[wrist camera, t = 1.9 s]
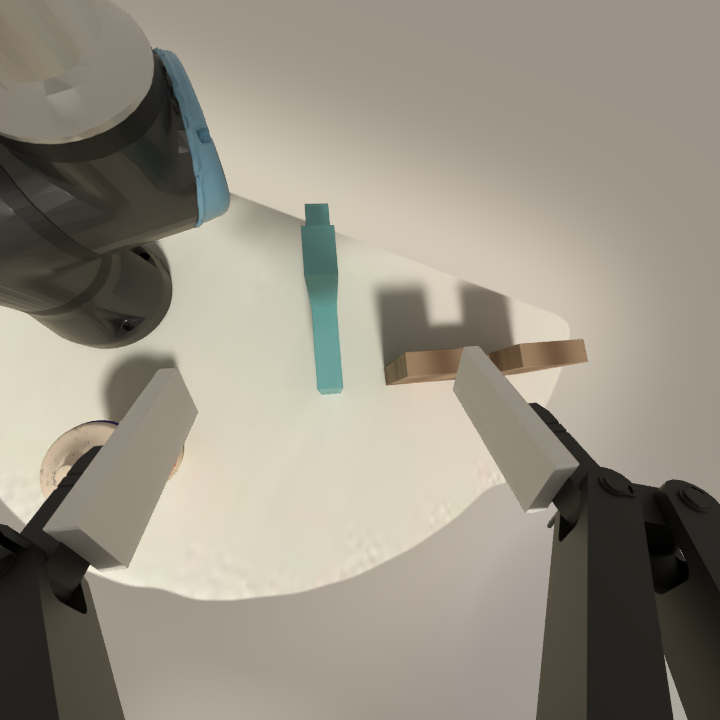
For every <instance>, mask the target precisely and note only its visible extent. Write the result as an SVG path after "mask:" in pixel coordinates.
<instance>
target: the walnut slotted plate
mask: <svg viewBox="0 0 720 720" xmlns="http://www.w3.org/2000/svg"><path fill="white" fill-rule="evenodd" d="M462 351H463V348H457V349H443V350H430V351H417V352H405V353H404V354H402V355H401V356H400V357H398V358H397V359H396V360H394V361H393V362H392V363H390V364H389V365H388V366H386V367H385V368H384V369H385V379H386V385H396V384H408V383H420V382H431V381H443V380H454V379H456V375H457V371H458V367H459V363H460V359H461V355H462ZM486 355H487V356H488V357H489V359H490V360H491V361H492V362H493V363H494V364H495V366H496V367H497V368H498V369H499V370H500V371H501V373H502V374H503V375H512V374H521V373H526V372H532V371H538V370H543V369H549V368H555V367H560V366H565V365H571V364H577V363H583V362H588V359H587V354H586V350H585V345H584V340H583V339H580V340H579V339H578V340H565V341H551V342H538V343H524V344H517V345H514V346H511V347H509V348H506V349H503V350H500V351H497V352H494V353H491V354H486Z"/></svg>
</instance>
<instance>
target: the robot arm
mask: <svg viewBox="0 0 720 720" xmlns="http://www.w3.org/2000/svg"><path fill="white" fill-rule="evenodd" d="M229 204H230V194H229V189H228V186H227V182H226V178H225V175H224V171H223V168H222V165H221V162H220V159H219V157H218V153H217V151H216V148H215V145H214V142H213V140H212V138H211V137H210V135H209V130H208V127H207V124H206V121H205V118H204V115H203V112H202V109H201V107H200V105H199V102H198V100H197V97H196V95H195V92H194V90H193V88H192V85H191V82H190V80H189V78H188V76H187V74H186V71H185V69H184V67H183V66H182V64H181V62H180V60H179V59H178V57H177V56H176V55H175V54H174V53H173V52H171V51H168V50H162V49H158V48H155V49H154V50H152V47H151V46H150V44H149V41H148V39H147V37H146V36H145V34H144V32H143V30H142V29H141V27H140V26H139V25H138V23H137V22H136V21H135V20H134V19H133V18H132V16H131V15H130V14H129V13H127V12H126V11H125V10H124V9H122V8H121V7H120V6H118V5H116V4H115V3H113V2H112V1H110V0H0V305H1V306H5V307H8V308H12V309H15V310H19V311H22V312H25V313H27V314H29V315H30V316H32V317H33V318H35V319H36V320H37V321H39V322H40V323H42V324H43V325H44V326H46V327H47V328H49V329H50V330H52V331H53V332H54V333H56V334H57V335H59V336H61V337H62V338H65V339H67V340H69V341H71V342H74V343H78V344H82V345H86V346H90V347H94V348H103V349H109V348H118V347H123V346H126V345H129V344H132V343H134V342H137V341H139V340H141V339H142V338H144V337H145V336H147V335H148V334H149V333H151V332H152V331H153V330H154V329H155V328H156V327H157V326H158V325H159V324H160V322H161V321H162V320H163V318H164V316H165V315H166V313H167V310H168V308H169V305H170V301H171V295H172V287H171V281H170V277H169V274H168V272H167V270H166V268H165V267H164V265H163V264H162V262H161V261H160V260H159V259H158V258H157V257H156V256H155V255H153V254H152V253H151V252H150V251H149V250H148V249H146V248H145V247H144V246H142V245H143V244H146V243H149V242H152V241H155V240H158V239H161V238H164V237H167V236H170V235H173V234H177V233H180V232H183V231H186V230H189V229H192V228H197V227H200V226H201V225H202V224H203V223H205V222H207V221H209V220H212V219H214V218H216V217H219V216H221V215H223V214H224V213H225V212H226V211H227V210H228V208H229ZM453 391H454V392H455V394H456V396H457V398H458V399H459V401H460V403H461V404H462V406H463V408H464V409H465V411H466V413H467V415H468V416H469V418H470V420H471V421H472V423H473V425H474V427H475V428H476V430H477V432H478V433H479V435H480V437H481V438H482V440H483V442H484V444H485V445H486V447H487V449H488V450H489V452H490V454H491V455H492V457H493V459H494V461H495V462H496V464H497V466H498V467H499V469H500V471H501V472H502V474H503V476H504V478H505V479H506V481H507V483H508V484H509V486H510V488H511V489H512V491H513V493H514V495H515V496H516V498H517V500H518V501H519V503H520V505H521V507H522V508H523V510H524V512H525V513H530V512H538V511H544V510H546V509H547V508H548V506H549V505H550V503H551V502H553V503H554V505H555V506H556V507H557V509H558V511H557V512H556V514H555V515H554V516H553V517H552V519H551V520H550V521H549V523H548V525H547V527H548V528H551V527H552V526H553V524H554V523H555V524H554V535H553V547H552V556H551V567H550V578H549V588H548V599H547V609H546V620H545V632H544V641H543V652H542V663H541V673H540V684H539V694H538V705H537V716H536V720H673V713H672V706H671V700H670V693H669V686H668V680H667V673H666V666H665V659H664V655H665V658H666V661H667V664H668V667H669V669H670V672H671V675H672V677H673V680H674V683H675V686H676V689H677V691H678V694H679V697H680V700H681V702H682V705H683V708H684V710H685V713H686V716H687V719H688V720H720V504H719V503H718V502H717V501H716V500H715V499H714V498H713V497H712V496H710V495H709V494H708V493H707V492H705V491H704V490H702V489H700V488H699V487H697V486H695V485H693V484H690V483H688V482H685V481H682V480H669V481H666V482H665V483H664V484H663V485H662V486H661V487H660V488H656V487H651V486H645V485H640V484H634V483H631V482H630V481H629V480H628V479H627V478H625V477H624V476H623V475H621V474H620V473H618V472H615V471H614V470H611V469H608V468H604V467H600V466H599V465H598V464H597V463H596V462H595V461H594V460H593V459H592V458H591V457H590V456H589V454H588V453H587V452H586V451H585V450H584V449H583V448H582V447H581V446H580V445H579V443H578V442H577V441H576V440H575V439H574V438H573V437H572V436H571V435H570V434H569V433H568V432H566V429H565V428H564V427H563V426H562V425H561V424H559V422H558V420H557V419H556V418H555V417H554V416H553V415H552V414H551V413H550V412H549V411H548V410H546V409H545V408H543V407H542V406H540V405H539V404H537V403H529V404H528V403H527V402H526V401H525V399H524V398H523V397H522V396H521V395H520V394H519V392H518V391H517V390H516V389H515V388H514V387H513V385H512V384H511V383H510V382H509V381H508V380H507V378H506V377H505V376H504V375H503V374H502V373H501V371H500V370H499V369H498V368H497V367H496V366H495V364H494V363H493V362H492V361H491V360H490V359H489V357H488V356H487V355H486V354H485V353H484V352H483V350H482V349H481V348H480V347H479V346H469V347H463V351H462V355H461V359H460V363H459V367H458V371H457V375H456V379H455V383H454V387H453ZM197 414H198V411H197V409H196V406H195V404H194V402H193V400H192V398H191V396H190V394H189V391H188V389H187V387H186V385H185V383H184V381H183V378H182V376H181V374H180V372H179V370H178V368H165V369H159V370H158V371H157V372H156V374H155V375H154V376H153V378H152V379H151V381H150V382H149V383H148V385H147V386H146V387H145V389H144V390H143V392H142V393H141V394H140V396H139V397H138V398H137V400H136V401H135V403H134V404H133V405H132V407H131V408H130V409H129V411H128V412H127V414H126V415H125V416H124V418H123V419H122V420H121V422H120V423H119V425H118V426H117V427H116V429H115V430H114V431H113V433H112V434H111V436H110V437H109V438H108V440H107V441H106V443H105V444H104V445H101V446H94V447H92V448H91V449H90V450H89V451H87V452H86V453H85V454H84V455H82V456H81V457H80V458H79V459H78V460H77V461H76V462H75V464H74V465H73V466H72V467H71V469H70V470H69V471H68V473H67V476H66V477H64V478H63V479H62V480H61V482H60V483H59V484H58V485H57V489H54V491H53V492H52V493H51V494H50V496H49V497H48V498H47V500H46V501H45V502H44V503H43V505H42V506H41V507H40V509H39V510H38V511H37V512H36V514H35V515H34V516H33V518H32V519H31V520H30V521H29V523H28V524H27V525H26V527H25V528H24V529H23V531H22V532H21V533H20V534H19V533H18V532H16V531H15V530H13V529H11V528H10V527H9V526H7V525H2V524H0V720H125V718H124V714H123V711H122V707H121V703H120V700H119V696H118V692H117V688H116V684H115V681H114V677H113V673H112V669H111V666H110V662H109V659H108V655H107V651H106V647H105V643H104V640H103V636H102V633H101V628H100V625H99V621H98V618H97V614H96V610H95V606H94V603H93V599H92V595H91V592H90V587H89V584H88V582H87V580H86V579H85V577H83V576H84V574H85V573H86V571H87V569H88V567H89V565H92V566H93V567H94V568H96V569H97V570H98V571H100V572H104V571H111V570H119V569H126V568H128V566H129V564H130V562H131V559H132V557H133V555H134V553H135V551H136V548H137V546H138V544H139V542H140V540H141V537H142V535H143V533H144V531H145V529H146V526H147V524H148V522H149V520H150V517H151V515H152V513H153V511H154V509H155V506H156V504H157V502H158V500H159V498H160V495H161V493H162V491H163V489H164V487H165V484H166V482H167V480H168V478H169V475H170V473H171V471H172V469H173V467H174V464H175V462H176V460H177V458H178V456H179V453H180V451H181V449H182V447H183V445H184V442H185V440H186V438H187V436H188V433H189V431H190V429H191V427H192V425H193V422H194V420H195V418H196V416H197ZM680 550H681V551H680ZM681 552H682V553H681ZM682 554H683V555H682ZM683 556H684V557H683Z"/></svg>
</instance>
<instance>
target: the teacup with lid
mask: <svg viewBox="0 0 720 720" xmlns="http://www.w3.org/2000/svg"><path fill="white" fill-rule="evenodd" d="M120 422H121V421H119V422H113V421H106V420H98V421H91V422H87V423H84V424H81V425H79V426H76V427H74V428H73V429H71V430H69V431H67V432H66V433H64V434H63V435H62V436H61V437H59V438H58V439H57V440H56V441H55V442H54V443H53V445H52V446H51V447H50V449H49V450H48V451H47V453H46V455H45V457H44V459H43V462H42V465H41V470H40V485H41V489H42V492H43V495H44V497H45V498H46V500H47V498H48V497H49V496H50V494H51V493H52V492H53V491H54V489H57V485H58V484H59V483H60V482H61V480H62V479H63V478H64V477H66V476H67V473H68V471H69V470H70V469H71V467H72V466H73V465H74V464H75V462H76V461H77V460H78V459H79V458H80V457H81V456H82V455H84V454H85V453H86V452H87V451H89V450H90V449H91V448H92V447H94V446H101V445H104V444H105V443H106V441H107V440H108V438H109V437H110V436H111V434H112V433H113V431H114V430H115V429H116V427H117V426H118V425H119V423H120ZM182 457H183V447H182V449H181V451H180V453H179V456H178V458H177V460H176V462H175V464H174V467H173V469H172V471H171V473H170V475H169V478H168V480H170V479H171V478H172V477H173V475H174V474H175V473H176V472H177V470H178V468H179V466H180V464H181V461H182ZM168 480H167V481H168Z"/></svg>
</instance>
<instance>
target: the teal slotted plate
mask: <svg viewBox="0 0 720 720" xmlns="http://www.w3.org/2000/svg"><path fill="white" fill-rule="evenodd" d="M305 216H306V226H301V232H302V247H303V262H304V276H305V281H306V285H307V290H308V294H309V299H310V304H311V308H312V318H313V332H314V347H315V361H316V376H317V390H318V391H319V392H320V393H321V394H322V395H325V394H336V393H340V392H341V390H342V389H343V380H342V368H341V356H340V344H339V331H338V319H337V289H338V267H337V255H336V243H335V231H334V225H330V222H329V211H328V204H305Z"/></svg>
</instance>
